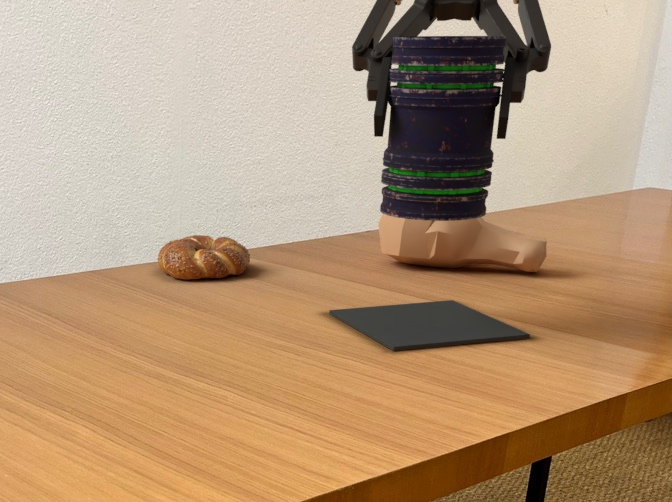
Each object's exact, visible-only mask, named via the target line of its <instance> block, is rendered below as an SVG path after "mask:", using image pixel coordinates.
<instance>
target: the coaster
mask: <svg viewBox="0 0 672 502" xmlns="http://www.w3.org/2000/svg"><path fill="white" fill-rule="evenodd" d="M329 315H330V316H332V317H334V318H336V319H338V320H339V321H341V322H343V323H344V324H346V325H348V326H349V327H351V328H353V329H355V330H356V331H359V332H360V333H362V334H364V335H365V336H367V337H369V338H370V339H372V340H374V341H376V342H378V343H379V344H381V345H382V346H384V347H386V348H388V349H390V350H391V351H393V352H395V351H408V350H419V349H430V348H438V347H449V346H451V347H452V346H460V345H471V344H482V343H493V342H494V343H495V342H504V341H514V340H525V339H530V336H531V333H528V332H526V331H524V330H521V329H519V328H517V327H515V326H512V325H510V324H507V323H505V322H503V321H501V320H498V319H496V318H494V317H491V316H490V315H488V314H485V313H483V312H480V311H478V310H476V309H473V308H471V307H469V306H467V305H464V304H462V303H460V302H459V301H455V300H453V299H449V300H448V299H447V300H438V301H425V302H424V301H423V302H413V303H401V304H389V305H375V306H363V307H354V308H353V307H351V308H338V309H329Z"/></svg>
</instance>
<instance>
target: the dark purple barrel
mask: <svg viewBox="0 0 672 502" xmlns="http://www.w3.org/2000/svg"><path fill="white" fill-rule="evenodd" d="M506 39H507V36H487V35H424V36H423V35H422V36H421V35H418V36H412V37H394V39H393V47H394V55H392V65H396V66H397V67H395V68H391V69H390V73H389V78H390V79H389V82H391V83H395V85H391V86H390V87H389V94H388V96H389V97H388V105H389V106H390V110H389V111H390V113H389V125H388V137H387V147H386V148H385V150H384V151H383V157H382V165H383V167H385V168H383V169H382V170H381V175H380V176H381V179H380V183H381V184H383V185H384V186H383V187H382V188H381V194H382V201H381V204H380V205H379V206H380V207H379V212H380V213H381V214H385V215H388V216H392V217H398V218H405V219H414V220H430V221H454V220H468V219H475V218H479V217H481V218H483V217H485V216H486V214H487V205H486V200H487V198H488V196H489V190H488V189H487V188H488V187H490V186H491V182H492V175H493V172H492V171H491V170H489V169H491V168H493V163H494V161H495V160H494V151H493V150H492V141H493V134H494V125H495V116H496V109H497V107H498V106H499V105H500V102H501V93H502V86H500V85H495V84H499V83H503V76H504V68H499V67H498V68H497V66H498V65H505V63H504V56H505V55H504V54H503V50H504V47H505V46H506ZM385 185H386V186H385Z"/></svg>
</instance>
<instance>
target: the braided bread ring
mask: <svg viewBox="0 0 672 502" xmlns="http://www.w3.org/2000/svg"><path fill="white" fill-rule="evenodd" d="M250 262H251V254H250V253H249V250H248V249H247V248H246V246H244V245H243V244H241V243H239V242H238V241H237V240H235V239H234V238H231V237H229V236H220V237H217V238H216V239H214V238H212V236H210V235H201V234H198V235H197V234H193V235H189V236H185V237H182V238H180V239H178V238H177V239H174V240H170V241H169V242H166V243H165V244H164V245H163V246H162V247H161V249H160V250H159V252H158V255H157V263H158V267H159V268H160V270H161V271H162V272H163V273H164V274H165V275H169V276H170V277H172V278H174V279H179V280H198V279H208V278H211V279H222V278H225V277H227V276H229V275H232V276H238V275H241V274H243V273H244V271H246V269H247V267H248V265H249V264H250Z"/></svg>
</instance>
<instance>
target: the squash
mask: <svg viewBox="0 0 672 502" xmlns="http://www.w3.org/2000/svg"><path fill="white" fill-rule="evenodd" d="M378 232H379V233H378V234H379V243H380V253H382V254H384V255H386V256H389V257H390V258H392V259H394V260H396V261H399V262H401V263H403V264H407V265H415V266H416V265H417V266H422V267H423V266H424V267H430V268H446V269H447V268H448V269H449V268H450V269H458V268H462V267H468V266H473V265H493V266H494V265H495V266H502V267H507V268H514V269H517V270H520V271H524V272H527V273H529V272H532V273H533V272H536V273H537V272H538V271H539V269H540V268H541V266H542V265H543V263H544V261H545V260H546V258H547V255H548V254H547V243H548V241H547V239H546V237H540V236H535V235H529V234H524V233H521V232H518V231H514V230H510V229H507V228H503V227H501V226H498V225H496V224H493V223H491V222H488V221H485V219H484V218H483V217H479V218H475V219H468V220H454V221H430V220H414V219H405V218H398V217H392V216H388V215H385V214H383V213H381V216H380V218H379V220H378Z"/></svg>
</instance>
